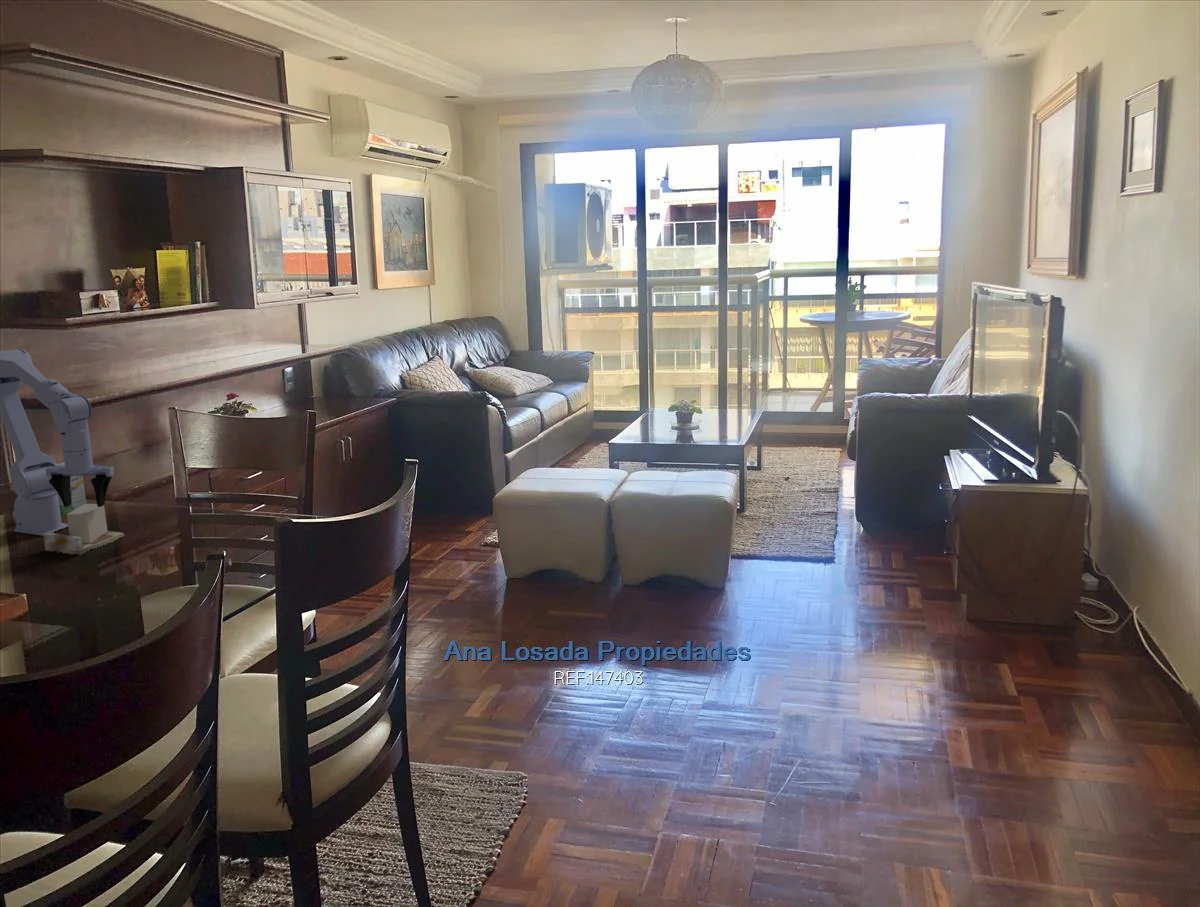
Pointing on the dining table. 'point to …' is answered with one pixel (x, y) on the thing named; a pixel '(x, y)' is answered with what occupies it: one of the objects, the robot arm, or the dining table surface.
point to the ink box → (73, 494)
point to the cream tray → (76, 542)
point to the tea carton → (87, 522)
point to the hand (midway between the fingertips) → (84, 505)
